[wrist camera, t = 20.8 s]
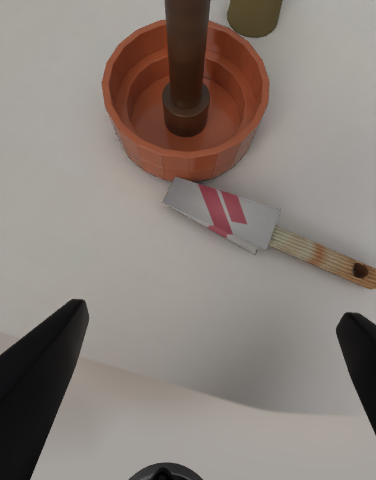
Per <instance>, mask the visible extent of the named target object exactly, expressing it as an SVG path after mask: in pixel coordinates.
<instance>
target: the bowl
mask: <svg viewBox="0 0 376 480" xmlns="http://www.w3.org/2000/svg"><path fill="white" fill-rule="evenodd" d="M168 82H170V78H169V62H168V46H167V30H166V20H160V21H157V22H154V23H152V24H150V25H147V26H145V27H142V28H140V29H138V30H136V31H135V32H133V33H132V34H131V35H130V36H128V37H127V38H126V39H125V40H123V41H122V42H121V43H120V44H119V45H118V46H117V48H116V49H115V51H114V52H113V54H112V55H111V57H110V58H109V60H108V61H107V63H106V67H105V72H104V76H103V80H102V90H103V97H104V103H105V108H106V110H107V113H108V115H109V117H110V120H111V122H112V125H113V127H114V130H115V132H116V134H117V137H118V139H119V141H120V143H121V145H122V146H123V148H124V150H125V152H126V153H127V155H128V156H129V158H130V159H132V160H133V161H134V162H135V163H136V164H137V165H138V166H140V167H141V168H142V169H143V170H144V171H146V172H148V173H151V174H153V175H155V176H157V177H160V178H162V179H164V180H169V181H173V180H174V178H175V177H178V178H182V179H185V180H188V181H191V182H195V181H201V180H207V179H211V178H214V177H216V176H218V175H220V174H222V173H223V172H225V171H227V170H229V169H231V168H232V167H233V166H234V165H235V164H236V163H237V162H238V161H239V160H240V159H241V158H242V157H243V156H244V155H245V154H246V152H247V150H248V148H249V145H250V143H251V141H252V139H253V137H254V134H255V132H256V130H257V128H258V125H259V123H260V121H261V119H262V116H263V114H264V112H265V110H266V107H267V105H268V98H269V79H268V76H267V72H266V69H265V66H264V63H263V61H262V59H261V58H260V56H259V55H258V54H257V52H256V51H255V50H254V48H253V47H252V46H251V44H250V43H249V42H248V41H247V40H245V39H244V38H242V37H241V36H240V35H238V34H237V33H235V32H234V31H233V30H231V29H230V28H227V27H225V26H222V25H220V24H217V23H214V22H212V21H209V20H208V31H207V42H206V53H205V63H204V74H203V83H204V84H205V85H206V86H207V88H208V90H209V93H210V103H209V110H208V117H207V123H206V126H205V128H204V129H203V130H202V131H201V132H200V133H199V134H197V135H195V136H192V137H180V136H177V135H175V134H173V133H172V132H170V131H169V130H168V128H167V127H166V125H165V121H164V112H163V103H162V92H163V89H164V87H165V86H166V84H167V83H168Z"/></svg>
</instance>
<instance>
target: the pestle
mask: <svg viewBox="0 0 376 480" xmlns="http://www.w3.org/2000/svg"><path fill="white" fill-rule="evenodd" d="M209 10H210V0H165V14H166V30H167V46H168V62H169V78H170V82H168V83H167V84H166V86H165V87H164V89H163V92H162V103H163V112H164V121H165V125H166V127H167V128H168V130H169V131H170V132H172V133H173V134H175V135H177V136H180V137H192V136H195V135H197V134H199V133H200V132H201V131H202V130H203V129H204V128H205V126H206V123H207V117H208V110H209V103H210V93H209V90H208V88H207V86H206V85H205V84H204V83H203V74H204V63H205V53H206V42H207V31H208V20H209Z"/></svg>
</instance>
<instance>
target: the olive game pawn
mask: <svg viewBox="0 0 376 480" xmlns="http://www.w3.org/2000/svg"><path fill="white" fill-rule="evenodd" d="M281 4H282V0H231V2H230V5H229V9H228V13H227V19H228V22H229V24H230V26H231V27H232V28H233V29H234V30H235V31H236V32H238V33H240V34H241V35H244V36H248V37H261V36H265V35H267V34H269V33H271V32H272V31H273V30H274V28H275V27H276V25H277V22H278V18H279V13H280V9H281Z"/></svg>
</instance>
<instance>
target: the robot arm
mask: <svg viewBox="0 0 376 480" xmlns="http://www.w3.org/2000/svg"><path fill="white" fill-rule="evenodd" d="M88 322H89V314H88V310H87V306H86V302H85V300H83V299H72V300H70V301H69V302H67V303H66V304H65V305H64V306H62V307H61V308H60V309H58V310H57V311H56V312H55V313H53V314H52V315H51V316H49V317H48V318H47V319H46V320H44V321H43V322H42V323H41V324H39V325H38V326H37V327H35V328H34V329H33V330H32V331H30V332H29V333H28V334H27V335H25V336H24V337H23V338H21V339H20V340H19V341H18V342H16V343H15V344H14V345H12V346H11V347H10V348H9V349H7V350H6V351H5V352H4V353H2V354H1V355H0V480H30V478H31V476H32V474H33V471H34V469H35V466H36V464H37V461H38V459H39V456H40V454H41V451H42V449H43V446H44V444H45V441H46V439H47V436H48V434H49V432H50V429H51V427H52V424H53V422H54V419H55V417H56V414H57V412H58V409H59V406H60V404H61V402H62V399H63V397H64V394H65V392H66V389H67V387H68V384H69V382H70V379H71V377H72V374H73V372H74V369H75V366H76V364H77V360H78V357H79V354H80V350H81V347H82V343H83V340H84V336H85V333H86V329H87V326H88ZM336 334H337V338H338V341H339V344H340V347H341V350H342V353H343V356H344V359H345V362H346V365H347V368H348V371H349V374H350V377H351V379H352V382H353V384H354V387H355V389H356V391H357V394H358V396H359V398H360V400H361V403H362V405H363V407H364V410H365V412H366V414H367V416H368V419H369V421H370V423H371V425H372V428H373V430H374V432H375V435H376V325H375V324H374V323H372V322H371V321H370V320H368V319H367V318H365V317H364V316H363V315H361V314H359V313H352V312H347V313H345V314H344V315H343V317H342V318H341V320H340V322H339V324H338V325H337V327H336ZM161 475H164V476H165V479H162V480H177V479H176V478H175V477H174V476H173V475H172V474H171V473H170V471H169V470H168V469H167V468H165V467H160V468H159V469H158V470H157V471H156V472H155V473H154V475H153V476H152V477H151V478H150V480H161V479H160V478H159V476H161Z"/></svg>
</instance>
